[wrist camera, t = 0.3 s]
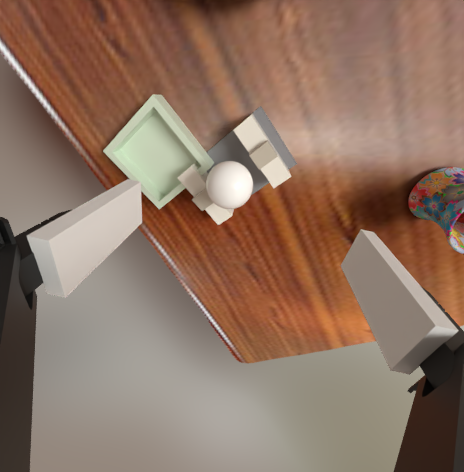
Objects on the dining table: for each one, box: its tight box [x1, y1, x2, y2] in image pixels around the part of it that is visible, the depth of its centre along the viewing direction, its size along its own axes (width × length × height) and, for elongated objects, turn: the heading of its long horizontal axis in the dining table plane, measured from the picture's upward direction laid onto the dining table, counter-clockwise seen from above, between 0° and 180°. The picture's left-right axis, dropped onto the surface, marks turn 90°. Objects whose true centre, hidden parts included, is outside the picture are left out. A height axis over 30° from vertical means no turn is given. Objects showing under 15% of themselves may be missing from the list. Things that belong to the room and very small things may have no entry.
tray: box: [103, 94, 214, 209], centre depth 36 cm, size 12×12×3 cm
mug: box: [408, 167, 464, 254], centre depth 32 cm, size 12×9×11 cm
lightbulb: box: [206, 161, 253, 209], centre depth 32 cm, size 6×6×11 cm
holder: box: [178, 106, 297, 225], centre depth 35 cm, size 10×17×6 cm, turn 128°
